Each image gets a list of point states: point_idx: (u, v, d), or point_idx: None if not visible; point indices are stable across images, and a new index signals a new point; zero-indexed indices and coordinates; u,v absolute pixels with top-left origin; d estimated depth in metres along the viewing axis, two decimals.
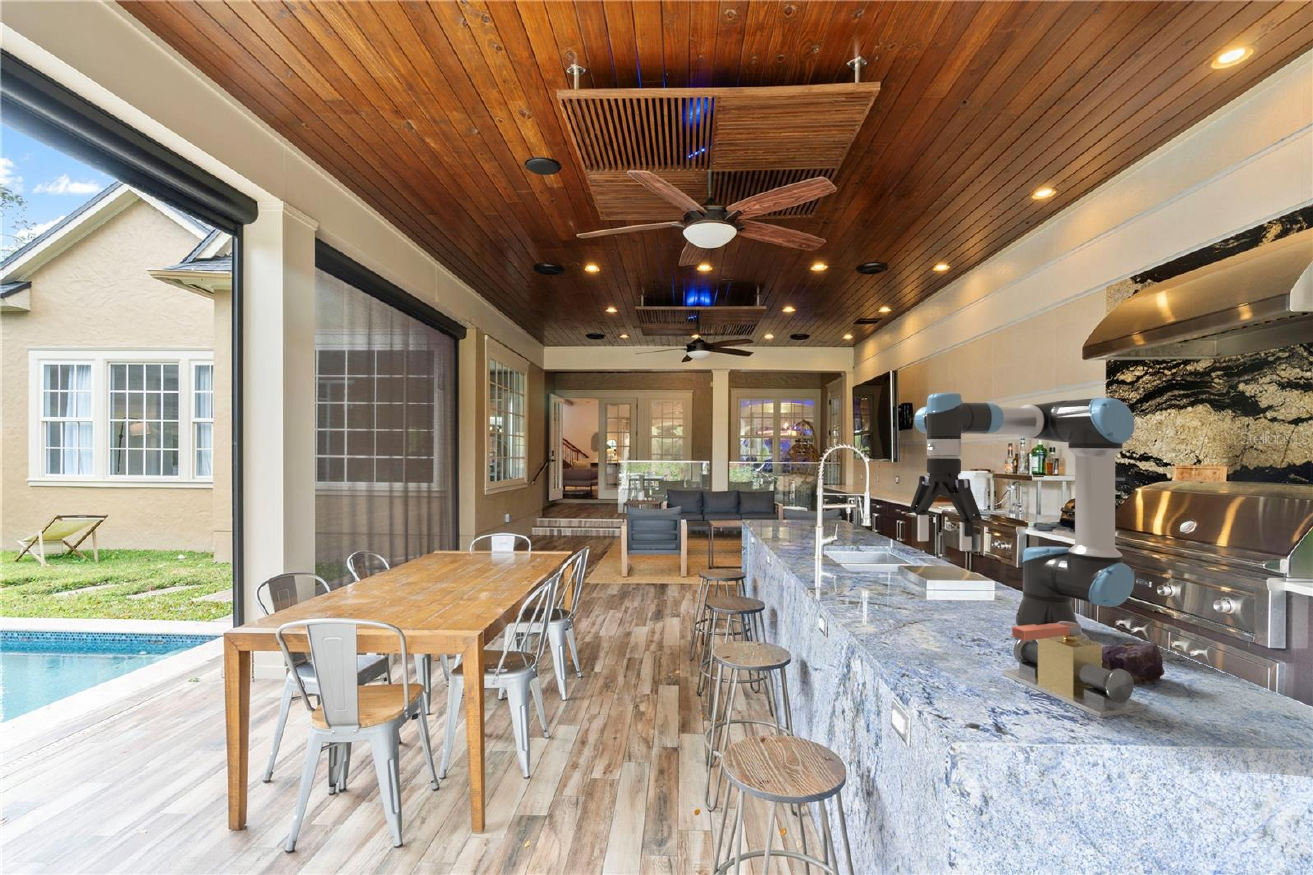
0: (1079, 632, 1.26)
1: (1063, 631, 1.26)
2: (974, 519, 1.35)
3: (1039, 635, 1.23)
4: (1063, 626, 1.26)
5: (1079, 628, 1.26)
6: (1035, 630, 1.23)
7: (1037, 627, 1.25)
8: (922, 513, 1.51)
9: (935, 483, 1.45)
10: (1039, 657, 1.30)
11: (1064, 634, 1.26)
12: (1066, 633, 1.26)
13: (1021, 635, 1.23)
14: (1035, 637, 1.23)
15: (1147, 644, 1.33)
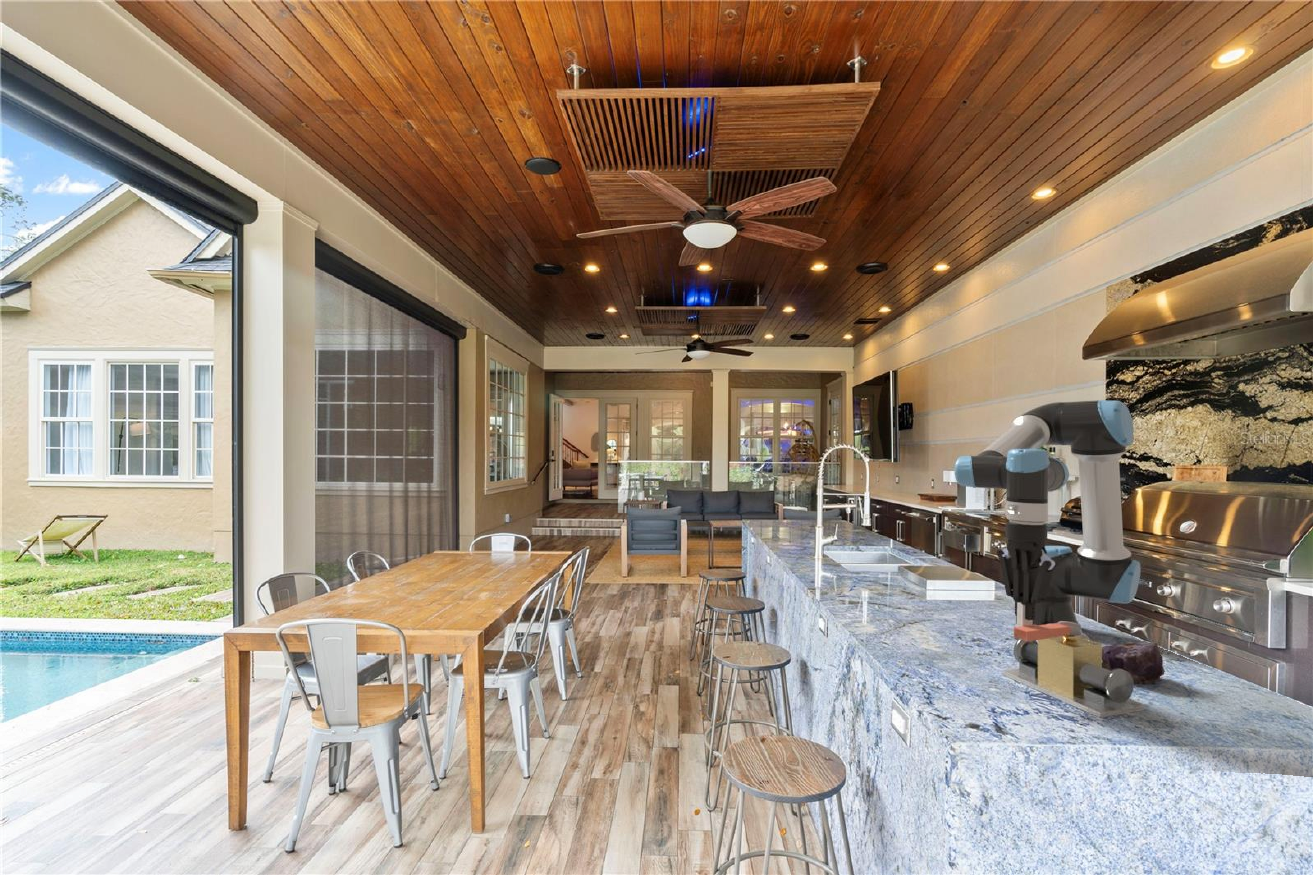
0: (1079, 632, 1.26)
1: (1064, 631, 1.26)
2: (1038, 602, 1.23)
3: (1041, 635, 1.23)
4: (1063, 626, 1.26)
5: (1079, 628, 1.26)
6: (1037, 630, 1.23)
7: (1038, 627, 1.24)
8: (1023, 598, 1.27)
9: (1015, 549, 1.27)
10: (1039, 657, 1.30)
11: (1065, 634, 1.26)
12: (1066, 633, 1.26)
13: (1023, 636, 1.23)
14: (1037, 637, 1.23)
15: (1147, 644, 1.33)
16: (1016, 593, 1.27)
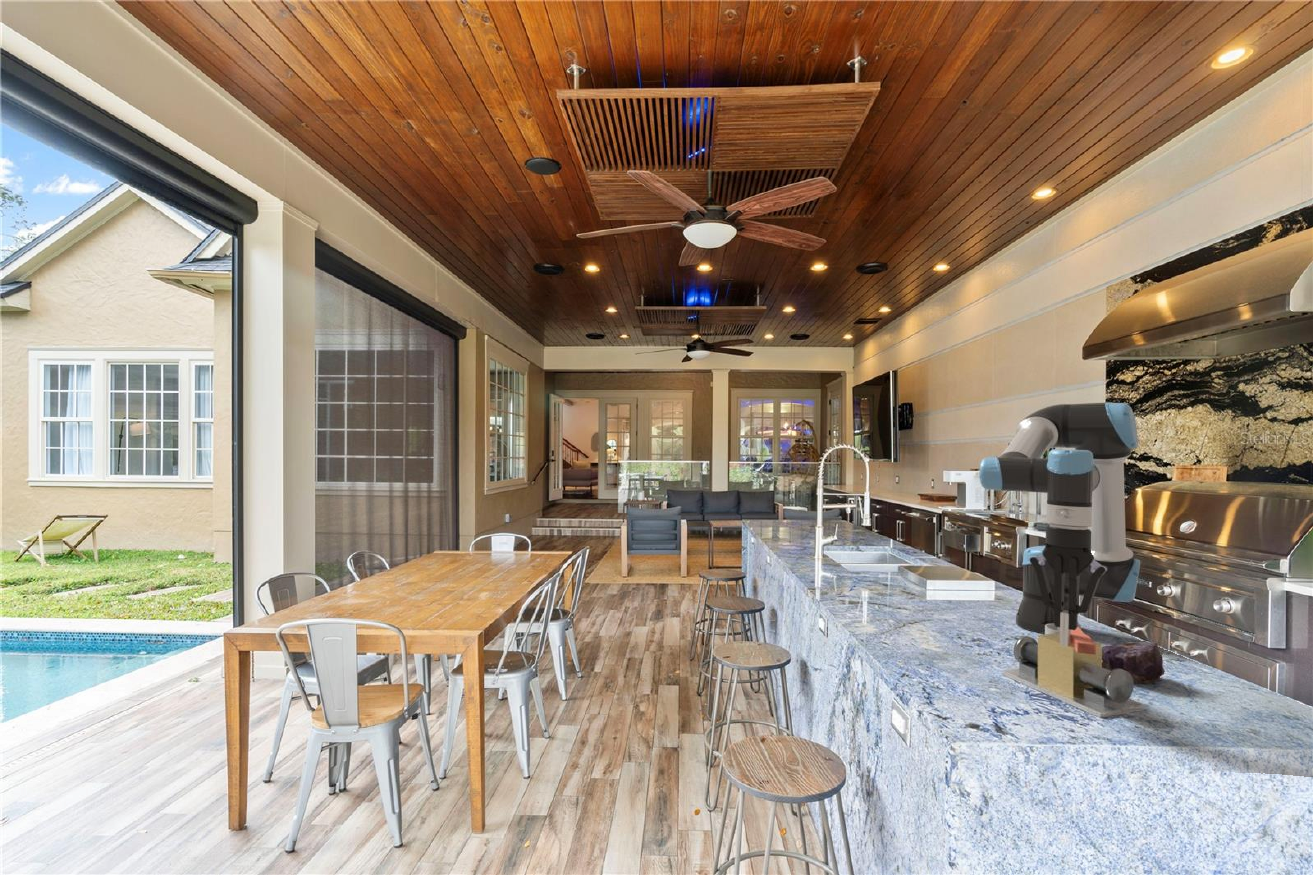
0: None
1: None
2: None
3: None
4: (1077, 628, 1.25)
5: None
6: None
7: (1082, 636, 1.19)
8: (1062, 607, 1.20)
9: (1059, 556, 1.19)
10: (1039, 657, 1.30)
11: None
12: None
13: (1091, 649, 1.15)
14: None
15: (1147, 644, 1.33)
16: (1058, 602, 1.20)
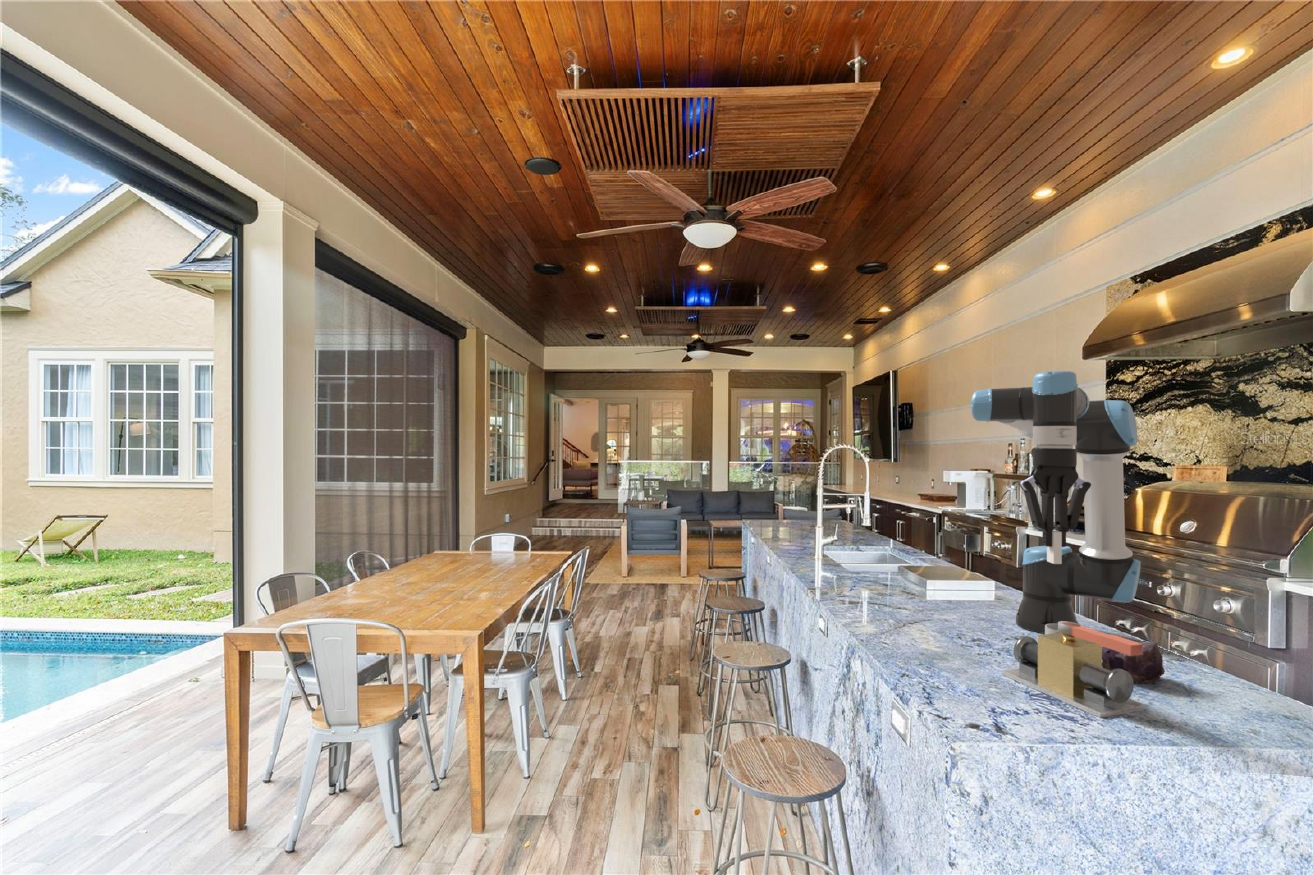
0: None
1: None
2: None
3: None
4: (1084, 627, 1.25)
5: None
6: None
7: (1114, 636, 1.19)
8: None
9: None
10: (1039, 657, 1.30)
11: None
12: None
13: (1139, 650, 1.14)
14: None
15: (1147, 643, 1.33)
16: (1051, 522, 1.22)
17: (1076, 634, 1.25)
